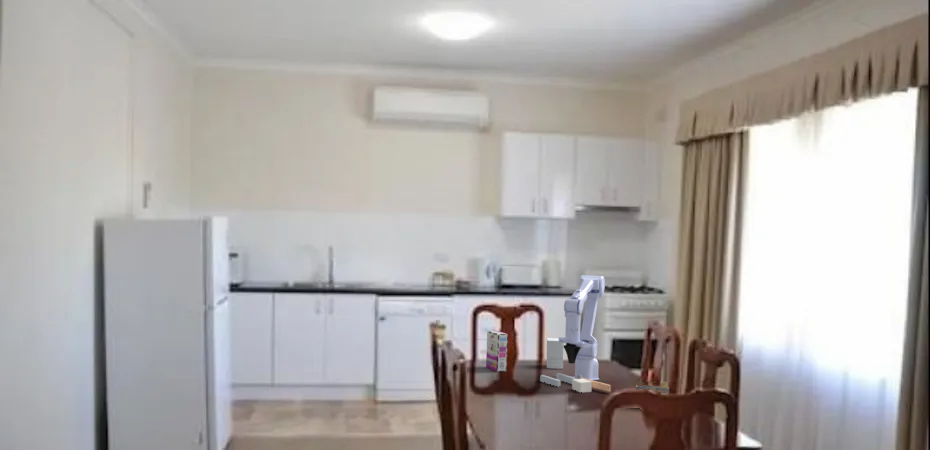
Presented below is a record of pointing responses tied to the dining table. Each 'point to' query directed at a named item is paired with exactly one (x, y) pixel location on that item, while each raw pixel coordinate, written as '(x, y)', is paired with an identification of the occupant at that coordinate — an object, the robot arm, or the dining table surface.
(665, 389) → the ruin model on sheet
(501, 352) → the candy bar box
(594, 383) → the tan flat bar
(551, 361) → the supplement box
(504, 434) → the dining table surface
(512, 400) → the dining table surface
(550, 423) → the dining table surface
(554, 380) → the dock
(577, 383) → the white block
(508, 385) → the dining table surface
